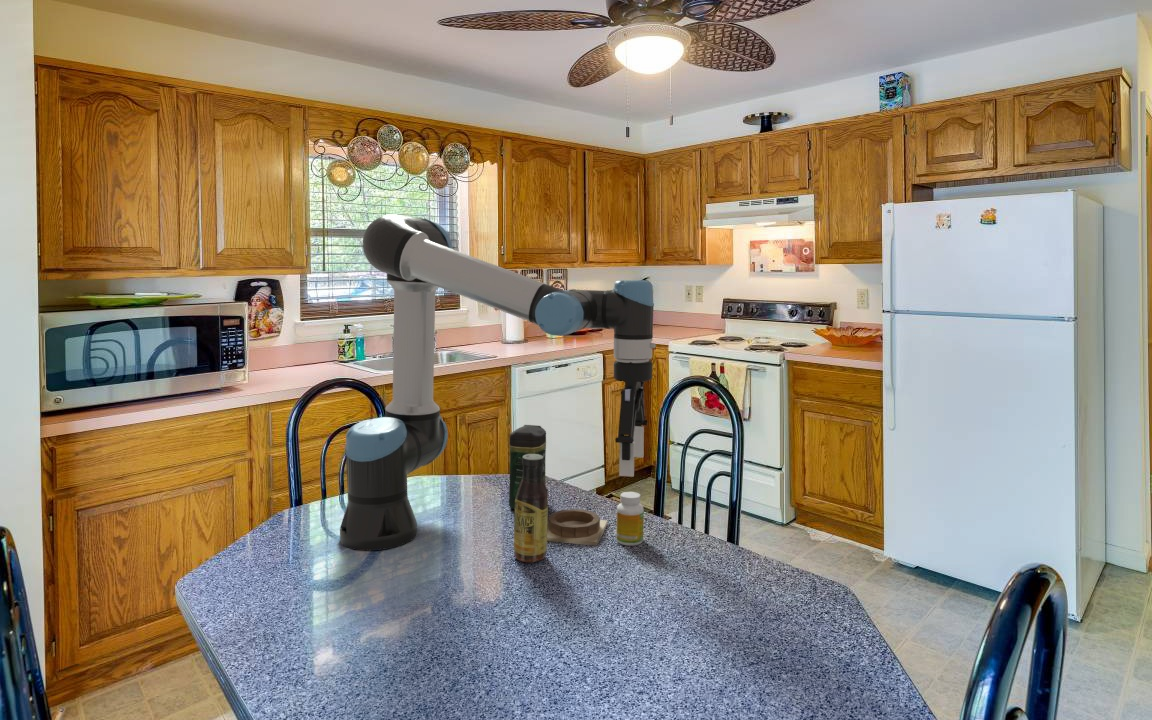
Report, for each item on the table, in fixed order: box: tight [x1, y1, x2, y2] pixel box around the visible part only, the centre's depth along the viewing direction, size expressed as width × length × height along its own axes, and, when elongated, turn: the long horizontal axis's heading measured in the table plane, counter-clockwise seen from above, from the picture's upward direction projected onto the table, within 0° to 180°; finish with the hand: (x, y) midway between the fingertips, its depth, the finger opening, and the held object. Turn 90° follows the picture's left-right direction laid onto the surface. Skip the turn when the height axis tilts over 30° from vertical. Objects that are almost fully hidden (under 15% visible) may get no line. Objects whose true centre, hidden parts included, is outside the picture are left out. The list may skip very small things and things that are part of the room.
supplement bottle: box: [615, 491, 645, 547], centre depth 138 cm, size 5×5×10 cm
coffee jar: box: [508, 424, 547, 510], centre depth 158 cm, size 10×8×19 cm
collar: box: [547, 508, 609, 546], centre depth 143 cm, size 12×12×3 cm
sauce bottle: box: [513, 454, 549, 564], centre depth 129 cm, size 7×6×20 cm
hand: (631, 466), depth 136 cm, fingers open, 13 cm apart
